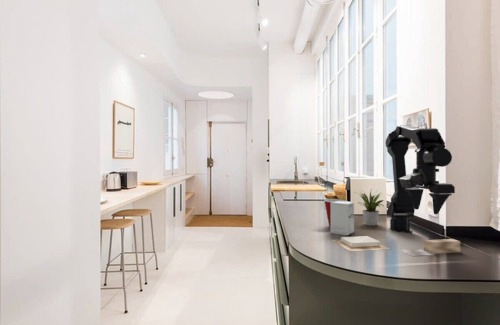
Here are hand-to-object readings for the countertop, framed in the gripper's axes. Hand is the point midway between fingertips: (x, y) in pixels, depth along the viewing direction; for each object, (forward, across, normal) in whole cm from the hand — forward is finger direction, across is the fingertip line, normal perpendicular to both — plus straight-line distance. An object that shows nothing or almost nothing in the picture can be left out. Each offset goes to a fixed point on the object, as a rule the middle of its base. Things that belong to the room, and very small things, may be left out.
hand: (425, 211), depth 103 cm
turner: (+11, +9, -5) cm, 15 cm away
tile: (+10, -3, -17) cm, 20 cm away
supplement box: (+12, -21, -20) cm, 32 cm away
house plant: (+13, -36, -1) cm, 38 cm away
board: (+12, -3, -22) cm, 25 cm away
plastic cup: (+12, -34, -17) cm, 40 cm away
